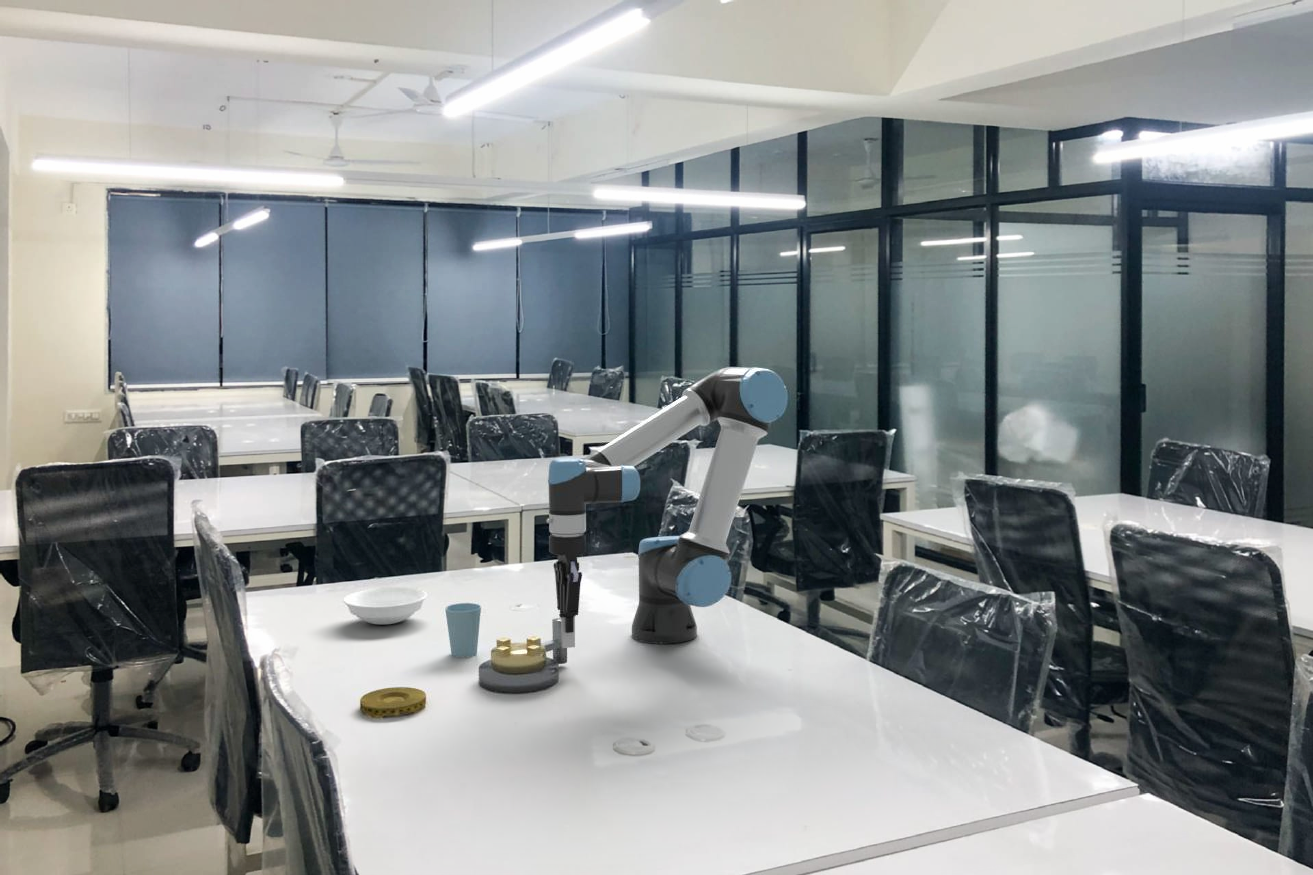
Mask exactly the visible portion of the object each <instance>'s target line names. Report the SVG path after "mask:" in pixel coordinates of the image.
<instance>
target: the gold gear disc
mask: <svg viewBox="0 0 1313 875" xmlns="http://www.w3.org/2000/svg"><path fill="white" fill-rule="evenodd" d="M426 704H427V694H426V692H425V691H423V690H422V689H419V688H414V687H406V686H401V687H399V686H397V687H396V686H395V687H386V688H380V689H375V690H373V691H369V692H368V693H366V694H363V695H362V696H361V697H360V699H359V706H360V707H359V708H360V710H361V711H362V712H363V713H365V716H366V717H369V718H374V719H383V718H384V717H394V716H401V715H406V714H413V715H415V714H418V713H420V712H422V711H423V710H425V709H426Z"/></svg>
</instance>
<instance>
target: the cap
mask: <svg viewBox="0 0 1313 875" xmlns="http://www.w3.org/2000/svg"><path fill="white" fill-rule="evenodd" d="M559 667H560V664H558V662H557V661H555V660H554V659H553V658H550V657H548V656H546V666H545V667H544V668H542V669H540V670H537V671H533V672H528V673H503V672H498V671H495V670H493V669H492V667H491V659H488V660H486V661H484V662H482V663H481V664H479V666H478V684H479V687H480V688H481V689H483V690H485V691H488V692H491V693H494V694H495V693H496V694H502V695H504V694H505V695H523V694H524V695H525V694H532V693H538V692H542V691H545V690H549V689H550V688H551V689H552V688H553V687H555V686H556V685H558V684H559V681H560V668H559Z"/></svg>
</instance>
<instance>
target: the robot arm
mask: <svg viewBox="0 0 1313 875" xmlns="http://www.w3.org/2000/svg"><path fill="white" fill-rule="evenodd" d="M788 397H789V395H788V390H787V387H786V385H785V383H784V380H783V379H782V378H781V377H780V375H779V374H778V373H777V372H775V371H773V370H770V369H768V368H762V367H759V366H756V367H755V366H754V367H742V366H741V367H739V366H728V367H727V366H726V367H723V368H720V369H718V370H716V371H713V372H712V373H709V374H708V375H707V376H705V377H704V378H702V379H700V380H699V381H697V382H695V383H694V384H691V385H690V386H689V387H688V388H686V389H684V390H682V393H681V397H680V398H678V399H676V400H675V401H673V402H671V403H670V404H669V405H667V406H665V407H664V408H662V409H661V410H659V411H657V412H656V413H655V414H653V415H651V416H650V417H648V418H646V419H645V420H643V421H642V422H640V423H638V424H637V425H635V426H634V427H632V428H631V429H629V430H627V431H626V432H625V433H623V434H621V435H619V436H618V437H617V438H614V439H613V440H612V441H610V442H609V443H607V444H606V445H604V446H603V447H601V448H599V449H597V450H596V451H593V452H592V453H591V454H588V455H587V456H585V457H579V458H578V457H577V458H576V457H574V458H573V457H570V458H569V457H566V458H565V457H563V458H562V457H561V458H554V459H552V460H551V461H550V463H549V466H548V467H549V468H548V479H547V483H548V514H549V515H548V516H549V518H547V519H546V523H547V524H549V526H548V530H549V531H548V532H549V533H550V535H549V536H548V552H549V553H550V554H553V555H556V556H557V561H556V562H554V563H553V565H552V566H553V569H554V570H553V571H554V575H555V576H554V578H555V590H556V603H557V604H556V605H557V606H556V607H557V611H559V614H558V615H559V618H561V648H567V649H568V648H569V649H570V648H575V647H576V622H575V621H576V616H579V609H580V608H579V607H580V598H581V597H580V594H581V593H580V592H581V582H582V577H583V573H582V571H580V562H578V555H582V554H585V552H586V550H587V549H586V548H587V546H586V544H587V542H586V538H587V537H586V535H585V534H584V533H585V532H587V511H586V510H587V508H586V506H587V505H588V504H589V505H590V504H591V505H592V504H601V503H602V504H604V503H624V502H629V501H634V500H636V499H637V497H638V496H639V494H640V491H641V477H640V474H639V471H638V470H637V469H636V467H635V466H637V465H639V464H640V463H642V462H643V461H645V460H647V459H648V458H650V457H651V456H653V455H655V454H656V453H657V452H659V451H661V450H663V449H664V448H666V447H667V446H668V445H670V444H672V443H673V442H675V441H676V440H678V439H679V438H681V437H683V436H684V435H686V434H687V433H689V432H690V431H692V430H693V429H695V428H697V427H698V426H702V427H707V426H708V425H709V424H711V423H713V422H715V421H718V423H719V425H720V432H719V434H718V438H717V440H716V444H715V447H714V450H713V454H712V456H711V459H710V463H709V466H708V469H707V472H706V474H705V478H704V481H703V484H702V487H701V489H700V490H701V491H700V494H699V497H698V500H697V504H696V507H695V510H694V513H693V517H692V519H691V523H690V526H689V528H688V530H687V531H686V532H684V533H683V534H680V535H668V536H667V535H666V536H655V537H646V538H643V539H642V540H640V542H639V544H638V545H639V546H638V552H637V553H638V554H637V557H638V604H637V607H636V611H635V614H634V617H633V621H632V624H631V637H632V638H633V639H634V640H637V641H640V642H643V643H649V644H656V645H658V644H662V645H663V644H664V645H666V644H667V645H668V644H669V645H670V644H679V643H685V641H686V642H689V641H692V640H693V639H696V638H697V636H698V626H697V622H696V619H695V615H694V613H693V610H692V606H693V607H697V608H707V607H711V606H713V605H715V604H716V603H718V602H719V601H721V600H722V599H723V598H724V596H726V594H727V592H728V591H729V589H730V587H731V582H732V572H731V571H730V566H729V565H728V563H727V562H728V559H729V556H730V550H729V549H730V548H729V547H728V546H727V541H728V540H727V539H728V537H729V534H730V530H731V528H732V524H733V521H734V518H735V514H736V511H737V508H738V506H739V502H740V498H741V497H742V496H741V495H742V492H743V489H744V487H745V483H746V481H747V476H748V474H749V470H750V467H751V463H752V460H753V457H754V455H755V451H756V448H757V445H758V442H759V440H760V439H762V438H764V437H765V436H767V435H768V432H769V431H770V426H771V424H772V423H773V422H775V421H777V420H778V419H779V418H781V417H782V415H783V414H784V413H785V411H786V408H787V405H788Z"/></svg>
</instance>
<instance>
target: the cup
mask: <svg viewBox="0 0 1313 875" xmlns="http://www.w3.org/2000/svg"><path fill="white" fill-rule="evenodd" d="M481 611H482V606H481V605H480V604H478V603H473V602H461V603H460V602H459V603H453V604H449V605H446V607H445V616H446V623H447V631H448V638H449V647H450V653H451V655H452V657H455V658H469V657H472V656H476V655H477V654H478V645H479V644H478V643H479V633H480V624H481V623H480V621H481Z"/></svg>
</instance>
